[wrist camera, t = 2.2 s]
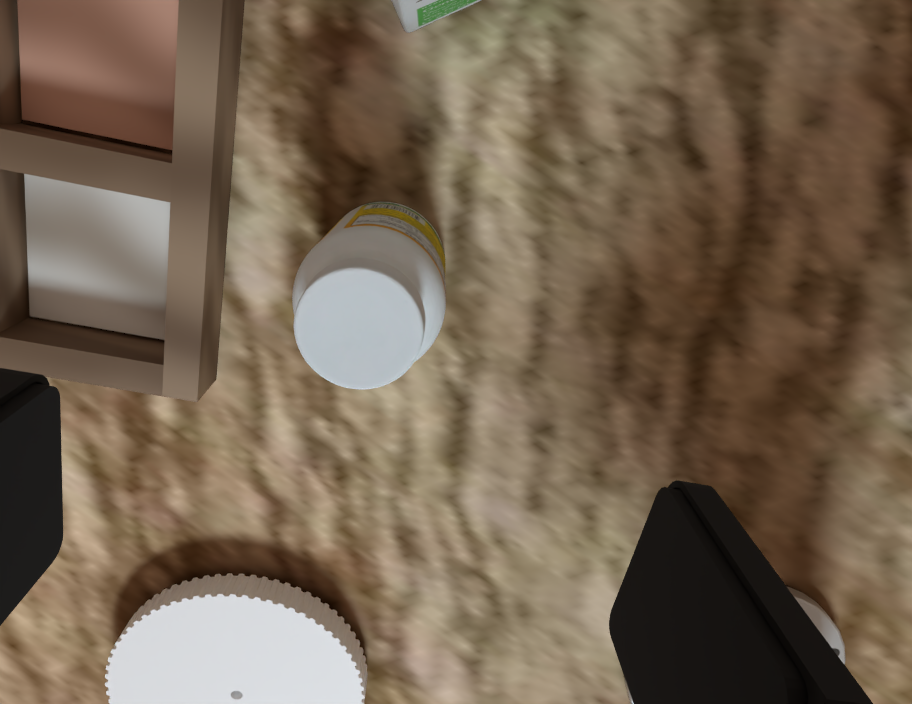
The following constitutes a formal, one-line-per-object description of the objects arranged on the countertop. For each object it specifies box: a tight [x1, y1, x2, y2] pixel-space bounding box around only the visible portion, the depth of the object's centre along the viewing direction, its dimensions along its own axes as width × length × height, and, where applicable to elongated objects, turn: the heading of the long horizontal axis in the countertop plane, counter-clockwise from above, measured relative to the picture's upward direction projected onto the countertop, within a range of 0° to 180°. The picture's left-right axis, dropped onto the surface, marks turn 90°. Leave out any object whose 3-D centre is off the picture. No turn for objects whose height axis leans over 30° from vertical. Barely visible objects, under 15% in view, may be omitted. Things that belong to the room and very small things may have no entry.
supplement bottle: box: [292, 202, 446, 389], centre depth 23 cm, size 5×5×10 cm
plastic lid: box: [105, 573, 367, 704], centre depth 35 cm, size 14×14×2 cm
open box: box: [0, 0, 244, 402], centre depth 25 cm, size 18×10×2 cm, turn 168°
